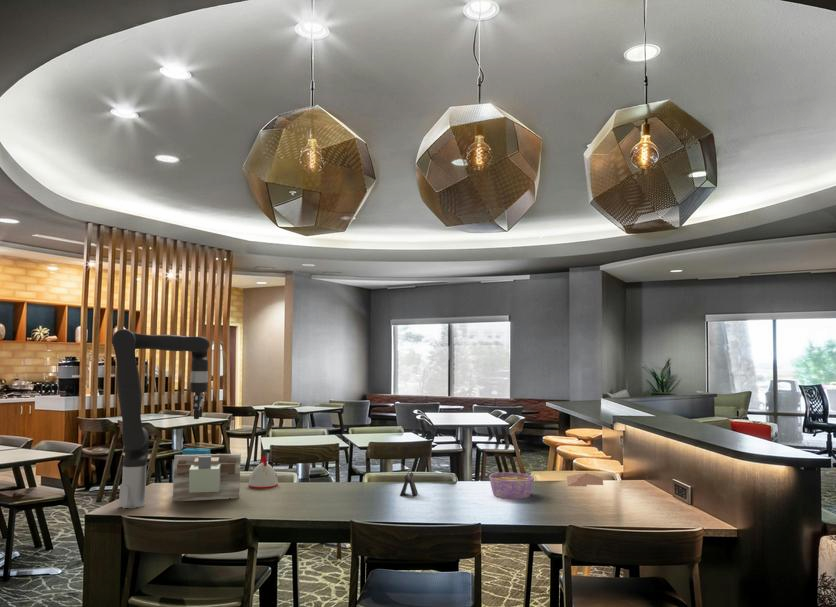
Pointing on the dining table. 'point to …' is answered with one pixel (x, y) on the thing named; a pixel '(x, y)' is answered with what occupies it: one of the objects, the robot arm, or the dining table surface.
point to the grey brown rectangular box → (227, 478)
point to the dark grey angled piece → (412, 485)
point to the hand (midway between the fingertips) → (197, 418)
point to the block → (195, 451)
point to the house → (584, 480)
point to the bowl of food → (511, 485)
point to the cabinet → (204, 475)
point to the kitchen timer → (263, 476)
